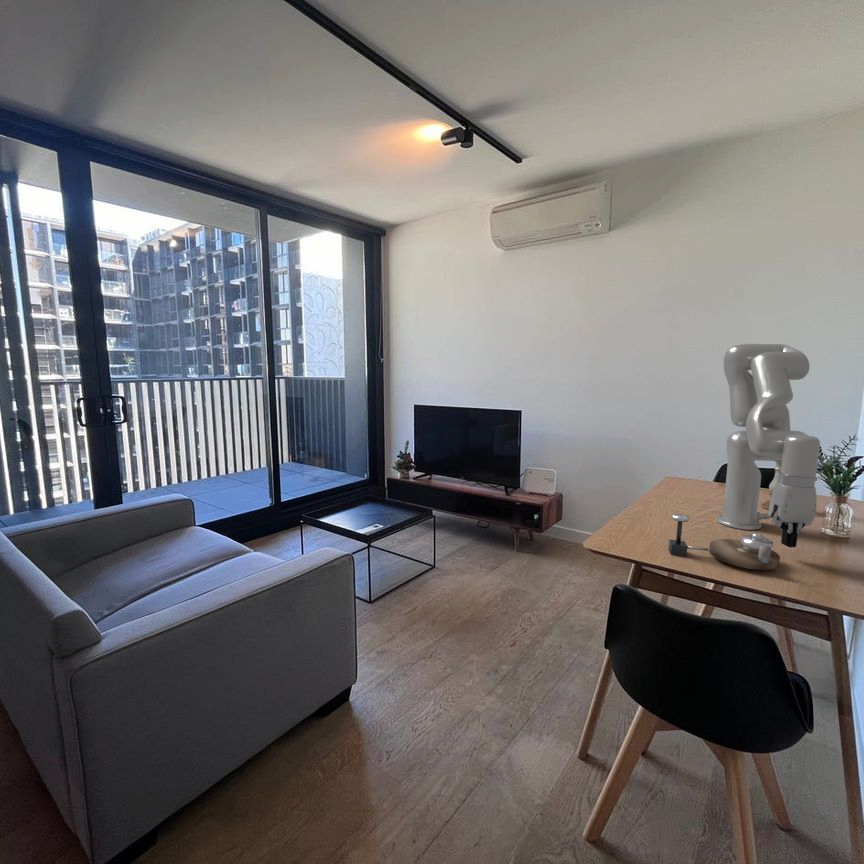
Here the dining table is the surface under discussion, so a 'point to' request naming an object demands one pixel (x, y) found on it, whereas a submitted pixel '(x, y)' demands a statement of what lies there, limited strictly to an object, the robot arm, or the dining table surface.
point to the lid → (754, 543)
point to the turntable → (744, 555)
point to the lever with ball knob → (677, 545)
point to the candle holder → (773, 483)
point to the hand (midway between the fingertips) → (788, 545)
